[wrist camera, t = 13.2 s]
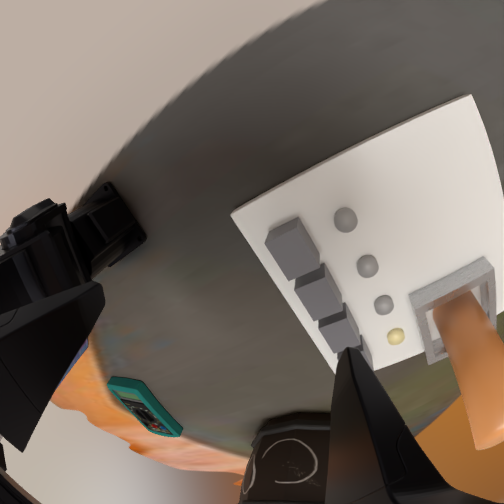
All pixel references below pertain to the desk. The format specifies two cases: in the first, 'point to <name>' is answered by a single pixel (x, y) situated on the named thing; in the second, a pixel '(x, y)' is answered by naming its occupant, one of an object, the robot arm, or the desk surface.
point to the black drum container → (289, 461)
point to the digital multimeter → (144, 406)
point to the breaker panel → (382, 231)
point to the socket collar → (446, 291)
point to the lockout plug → (475, 365)
